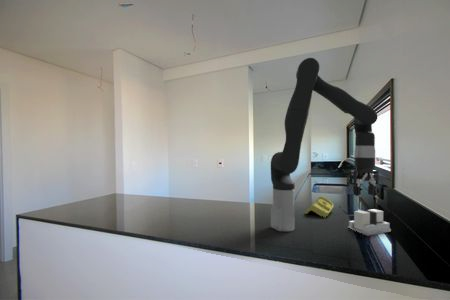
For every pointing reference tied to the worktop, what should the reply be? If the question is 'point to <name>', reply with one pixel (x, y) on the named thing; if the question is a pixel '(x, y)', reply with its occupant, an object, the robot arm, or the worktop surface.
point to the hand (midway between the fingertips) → (363, 195)
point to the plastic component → (321, 207)
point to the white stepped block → (373, 224)
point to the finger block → (361, 219)
